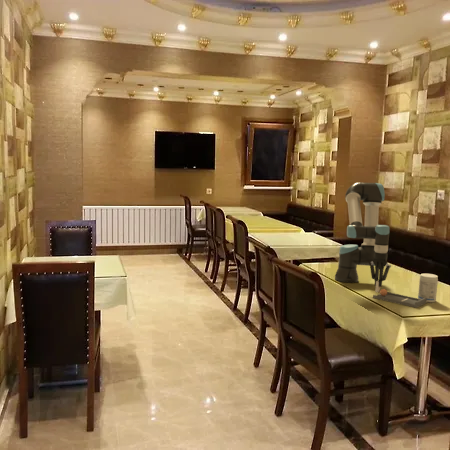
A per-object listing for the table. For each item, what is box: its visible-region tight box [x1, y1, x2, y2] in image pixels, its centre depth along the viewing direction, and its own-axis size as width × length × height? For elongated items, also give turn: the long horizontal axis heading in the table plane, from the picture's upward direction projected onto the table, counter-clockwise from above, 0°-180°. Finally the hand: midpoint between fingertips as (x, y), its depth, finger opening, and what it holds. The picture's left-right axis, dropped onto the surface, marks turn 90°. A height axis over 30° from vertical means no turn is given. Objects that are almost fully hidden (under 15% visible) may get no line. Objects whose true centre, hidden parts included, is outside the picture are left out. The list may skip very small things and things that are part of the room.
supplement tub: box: [417, 273, 439, 303], centre depth 271 cm, size 10×10×15 cm
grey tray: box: [372, 291, 427, 309], centre depth 270 cm, size 25×14×3 cm, turn 46°
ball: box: [379, 288, 388, 296], centre depth 276 cm, size 4×4×4 cm
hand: (377, 291), depth 278 cm, fingers closed
